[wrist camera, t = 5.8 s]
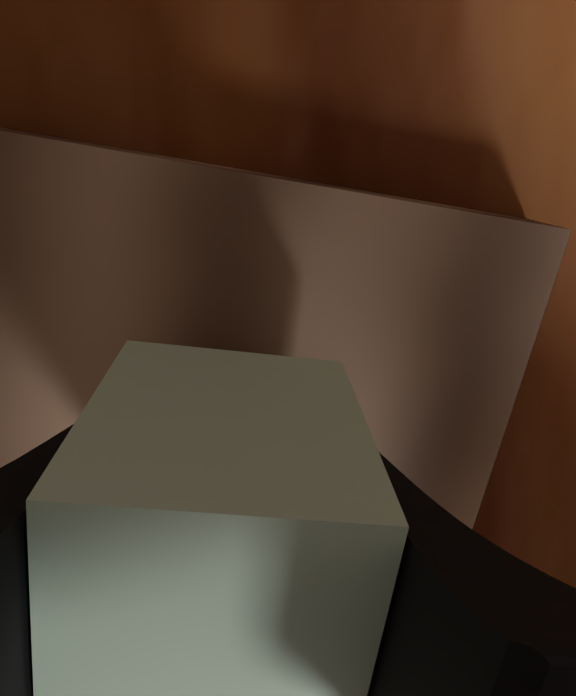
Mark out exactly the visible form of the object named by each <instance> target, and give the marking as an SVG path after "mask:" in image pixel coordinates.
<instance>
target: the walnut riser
mask: <svg viewBox="0 0 576 696" xmlns="http://www.w3.org/2000/svg"><path fill="white" fill-rule="evenodd" d="M571 231H572V230H571V229H567V228H562V227H558V226H554V225H550V224H546V223H542V222H538V221H534V220H530V219H525V218H520V217H514V216H508V215H502V214H497V213H491V212H485V211H479V210H474V209H468V208H462V207H456V206H451V205H445V204H439V203H433V202H428V201H422V200H416V199H411V198H405V197H399V196H393V195H388V194H382V193H376V192H370V191H365V190H359V189H353V188H347V187H342V186H336V185H330V184H324V183H319V182H313V181H307V180H301V179H296V178H290V177H284V176H278V175H273V174H267V173H261V172H255V171H250V170H244V169H238V168H233V167H227V166H221V165H215V164H210V163H204V162H198V161H192V160H187V159H181V158H175V157H169V156H164V155H158V154H152V153H146V152H141V151H135V150H129V149H123V148H118V147H112V146H106V145H100V144H95V143H89V142H83V141H78V140H72V139H66V138H60V137H55V136H49V135H43V134H37V133H32V132H26V131H20V130H14V129H9V128H3V127H0V468H1V467H3V466H4V465H6V464H8V463H10V462H12V461H14V460H15V459H17V458H19V457H21V456H22V455H24V454H26V453H27V452H29V451H30V450H32V449H34V448H35V447H37V446H39V445H40V444H42V443H44V442H45V441H47V440H49V439H50V438H52V437H53V436H55V435H57V434H58V433H60V432H61V431H63V430H65V429H66V428H68V427H70V426H71V425H73V424H74V423H75V422H76V420H77V419H78V417H79V416H80V414H81V412H82V411H83V409H84V408H85V406H86V405H87V403H88V401H89V400H90V398H91V397H92V395H93V393H94V392H95V390H96V389H97V387H98V386H99V384H100V382H101V381H102V379H103V378H104V376H105V375H106V373H107V371H108V370H109V368H110V367H111V365H112V364H113V362H114V360H115V359H116V357H117V356H118V354H119V352H120V351H121V349H122V348H123V346H124V345H125V343H126V341H127V340H130V341H140V342H150V343H160V344H170V345H180V346H190V347H200V348H210V349H220V350H230V351H240V352H250V353H260V354H270V355H280V356H290V357H300V358H310V359H320V360H330V361H340V362H342V363H343V366H344V368H345V371H346V373H347V376H348V378H349V381H350V383H351V386H352V388H353V390H354V393H355V395H356V398H357V400H358V403H359V405H360V408H361V410H362V413H363V415H364V417H365V420H366V422H367V425H368V427H369V430H370V432H371V435H372V437H373V440H374V442H375V444H376V447H377V449H378V452H379V453H381V454H382V455H383V456H384V457H385V458H386V459H387V460H388V461H389V462H391V463H392V464H393V465H394V466H395V467H396V468H397V469H398V470H399V471H400V472H401V473H403V474H404V475H405V476H406V477H407V478H408V479H409V480H410V481H412V482H413V483H414V484H415V485H416V486H417V487H418V488H419V489H421V490H422V491H423V492H424V493H425V494H427V495H428V496H429V497H430V498H431V499H433V500H434V501H435V502H436V503H437V504H439V505H440V506H441V507H443V508H444V509H445V510H446V511H448V512H449V513H450V514H452V515H453V516H454V517H455V518H457V519H458V520H459V521H461V522H462V523H463V524H465V525H466V526H468V527H469V528H471V529H473V526H474V523H475V520H476V517H477V514H478V511H479V508H480V505H481V502H482V499H483V496H484V493H485V490H486V487H487V484H488V481H489V478H490V475H491V472H492V469H493V466H494V463H495V460H496V457H497V454H498V451H499V448H500V445H501V442H502V439H503V436H504V433H505V430H506V427H507V424H508V421H509V418H510V415H511V412H512V409H513V406H514V403H515V399H516V396H517V393H518V390H519V387H520V384H521V381H522V378H523V375H524V372H525V369H526V366H527V363H528V360H529V357H530V354H531V351H532V348H533V345H534V342H535V339H536V336H537V333H538V330H539V327H540V324H541V321H542V318H543V315H544V312H545V309H546V306H547V303H548V300H549V297H550V294H551V291H552V288H553V285H554V282H555V279H556V276H557V273H558V270H559V267H560V264H561V261H562V258H563V255H564V252H565V249H566V246H567V243H568V240H569V237H570V234H571Z"/></svg>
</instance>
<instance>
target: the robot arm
mask: <svg viewBox="0 0 576 696" xmlns="http://www.w3.org/2000/svg"><path fill="white" fill-rule="evenodd" d="M73 425H74V424H73ZM73 425H71V426H70V427H68V428H66V429H65V430H63V431H61V432H60V433H58V434H57V435H55V436H53V437H52V438H50V439H49V440H47V441H45V442H44V443H42V444H40V445H39V446H37V447H35V448H34V449H32V450H30V451H29V452H27V453H26V454H24V455H22V456H21V457H19V458H17V459H15V460H14V461H12V462H10V463H8V464H6V465H4V466H3V467H1V468H0V696H34V695H33V669H32V644H31V619H30V593H29V568H28V542H27V517H26V499H27V498H28V496H29V494H30V493H31V491H32V490H33V488H34V487H35V485H36V483H37V482H38V480H39V479H40V477H41V476H42V474H43V472H44V471H45V469H46V468H47V466H48V465H49V463H50V461H51V460H52V458H53V457H54V455H55V453H56V452H57V450H58V449H59V447H60V446H61V444H62V442H63V441H64V439H65V438H66V436H67V435H68V433H69V431H70V430H71V428H72V427H73ZM379 454H380V457H381V459H382V462H383V464H384V467H385V469H386V471H387V474H388V476H389V479H390V481H391V484H392V486H393V489H394V491H395V494H396V496H397V499H398V501H399V503H400V506H401V508H402V511H403V513H404V516H405V518H406V521H407V523H408V526H409V529H408V533H407V537H406V541H405V545H404V549H403V553H402V557H401V561H400V565H399V569H398V573H397V577H396V581H395V585H394V590H393V594H392V598H391V602H390V606H389V610H388V614H387V618H386V622H385V626H384V630H383V634H382V638H381V642H380V646H379V650H378V654H377V658H376V662H375V666H374V670H373V674H372V678H371V682H370V686H369V690H368V694H367V696H576V588H573V587H571V586H569V585H567V584H565V583H563V582H561V581H559V580H557V579H555V578H553V577H551V576H549V575H547V574H545V573H544V572H542V571H540V570H538V569H536V568H534V567H533V566H531V565H529V564H527V563H525V562H523V561H522V560H520V559H518V558H516V557H514V556H513V555H511V554H509V553H508V552H506V551H504V550H503V549H501V548H499V547H498V546H496V545H495V544H493V543H492V542H490V541H489V540H487V539H486V538H484V537H483V536H481V535H480V534H478V533H476V532H475V531H473V530H472V529H471V528H469V527H468V526H466V525H465V524H463V523H462V522H461V521H459V520H458V519H457V518H455V517H454V516H453V515H452V514H450V513H449V512H448V511H446V510H445V509H444V508H443V507H441V506H440V505H439V504H437V503H436V502H435V501H434V500H433V499H431V498H430V497H429V496H428V495H427V494H425V493H424V492H423V491H422V490H421V489H419V488H418V487H417V486H416V485H415V484H414V483H413V482H412V481H410V480H409V479H408V478H407V477H406V476H405V475H404V474H403V473H401V472H400V471H399V470H398V469H397V468H396V467H395V466H394V465H393V464H392V463H391V462H389V461H388V460H387V459H386V458H385V457H384V456H383V455H382V454H381V453H379Z"/></svg>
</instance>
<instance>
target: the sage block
mask: <svg viewBox="0 0 576 696" xmlns="http://www.w3.org/2000/svg"><path fill="white" fill-rule="evenodd" d="M26 517H27V542H28V568H29V593H30V619H31V644H32V669H33V695H34V696H367V694H368V690H369V686H370V682H371V678H372V674H373V670H374V666H375V662H376V658H377V654H378V650H379V646H380V642H381V638H382V634H383V630H384V626H385V622H386V618H387V614H388V610H389V606H390V602H391V598H392V594H393V590H394V585H395V581H396V577H397V573H398V569H399V565H400V561H401V557H402V553H403V549H404V545H405V541H406V537H407V533H408V529H409V526H408V523H407V521H406V518H405V516H404V513H403V511H402V508H401V506H400V503H399V501H398V499H397V496H396V494H395V491H394V489H393V486H392V484H391V481H390V479H389V476H388V474H387V471H386V469H385V467H384V464H383V462H382V459H381V457H380V454H379V452H378V449H377V447H376V444H375V442H374V440H373V437H372V435H371V432H370V430H369V427H368V425H367V422H366V420H365V417H364V415H363V413H362V410H361V408H360V405H359V403H358V400H357V398H356V395H355V393H354V390H353V388H352V386H351V383H350V381H349V378H348V376H347V373H346V371H345V368H344V366H343V363H342V362H340V361H330V360H320V359H310V358H300V357H290V356H280V355H270V354H260V353H250V352H240V351H230V350H220V349H210V348H200V347H190V346H180V345H170V344H160V343H150V342H140V341H130V340H127V341H126V343H125V345H124V346H123V348H122V349H121V351H120V352H119V354H118V356H117V357H116V359H115V360H114V362H113V364H112V365H111V367H110V368H109V370H108V371H107V373H106V375H105V376H104V378H103V379H102V381H101V382H100V384H99V386H98V387H97V389H96V390H95V392H94V393H93V395H92V397H91V398H90V400H89V401H88V403H87V405H86V406H85V408H84V409H83V411H82V412H81V414H80V416H79V417H78V419H77V420H76V422H75V423H74V425H73V427H72V428H71V430H70V431H69V433H68V435H67V436H66V438H65V439H64V441H63V442H62V444H61V446H60V447H59V449H58V450H57V452H56V453H55V455H54V457H53V458H52V460H51V461H50V463H49V465H48V466H47V468H46V469H45V471H44V472H43V474H42V476H41V477H40V479H39V480H38V482H37V483H36V485H35V487H34V488H33V490H32V491H31V493H30V494H29V496H28V498H27V499H26Z"/></svg>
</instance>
